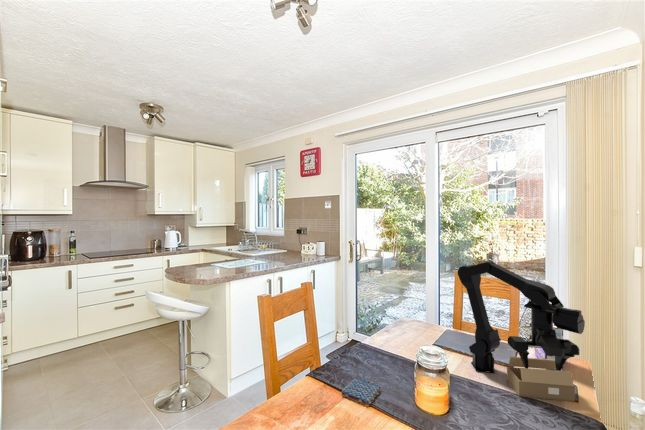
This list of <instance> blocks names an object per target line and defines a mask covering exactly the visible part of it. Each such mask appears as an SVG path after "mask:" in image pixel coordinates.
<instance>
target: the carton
mask: <svg viewBox="0 0 645 430" xmlns="http://www.w3.org/2000/svg"><path fill="white" fill-rule="evenodd" d="M520 368H521V367H514V366H507V367H506V381H507V383H508V384H509V385H510V386H511V388H512V389H513V391H514V392H515V393H516V394H517V397H519V398H520V397H522V398H532V399H541V400H542V399H544V400H552V401H553V400H554V401H564V402H572V403H574V402H573V401H575V402H576V385H575V383H573V385H574V386H567V385H556V384H545V383H533V382H523V381H522V376H521V369H520Z"/></svg>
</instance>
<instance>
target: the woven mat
mask: <svg viewBox="0 0 645 430" xmlns="http://www.w3.org/2000/svg"><path fill="white" fill-rule="evenodd" d="M381 392H382V389H381V386H379V384H374V383H373V382H372V383H371V382H370V381H367V380H362V378H358V377H355V378H354V379H353V380H352V381H350V382H349V383H348V385H346V386H345V387H344V388H343V389H342V390H341V396H342V397H345V398H346V399H349V400H352V401H353V402H357V403H359V404H362V405H364V406H366V407H367V406H368V407H370V405H371V404H372V403H373V401H375V398H376V397H377V396H378V395H379V394H381Z"/></svg>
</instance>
